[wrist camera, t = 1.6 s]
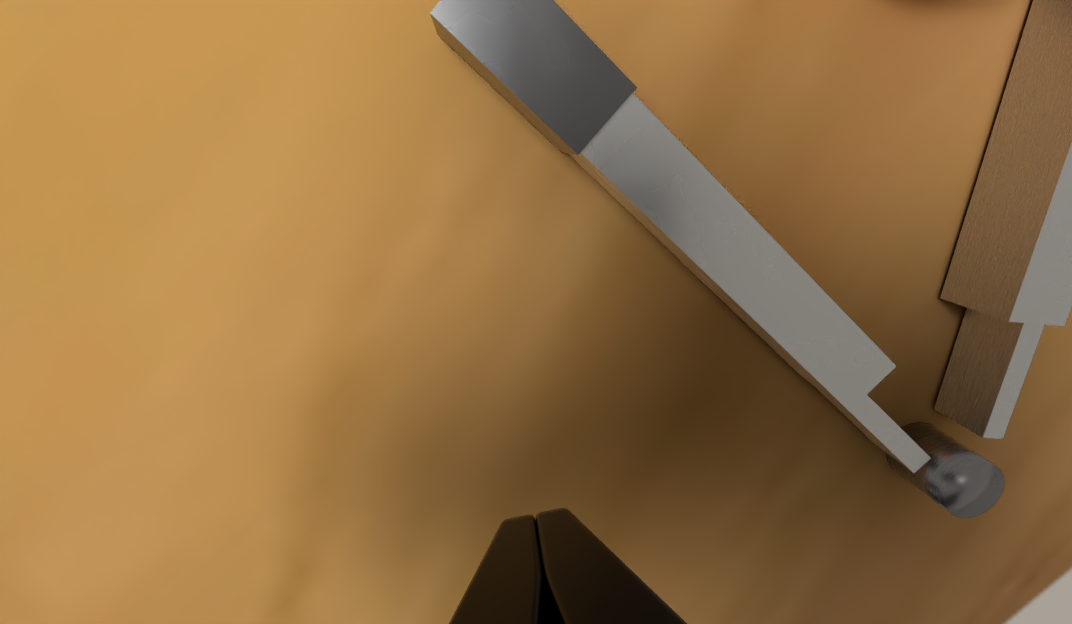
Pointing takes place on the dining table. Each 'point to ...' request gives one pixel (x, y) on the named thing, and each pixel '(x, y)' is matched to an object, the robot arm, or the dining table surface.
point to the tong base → (1007, 265)
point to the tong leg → (671, 196)
